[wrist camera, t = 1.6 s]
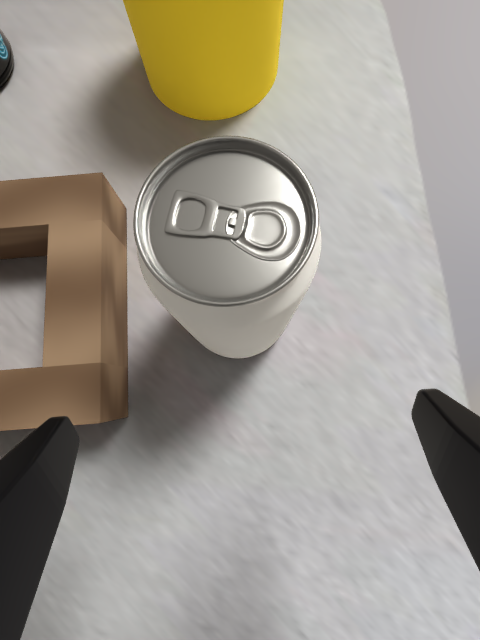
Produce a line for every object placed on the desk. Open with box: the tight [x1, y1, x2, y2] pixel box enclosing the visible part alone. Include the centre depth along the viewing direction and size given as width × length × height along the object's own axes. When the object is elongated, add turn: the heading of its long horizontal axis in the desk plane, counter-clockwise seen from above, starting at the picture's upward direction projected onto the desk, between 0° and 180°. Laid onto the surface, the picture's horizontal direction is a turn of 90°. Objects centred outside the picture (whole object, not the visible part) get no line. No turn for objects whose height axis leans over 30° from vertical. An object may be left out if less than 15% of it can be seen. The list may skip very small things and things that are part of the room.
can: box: [133, 136, 321, 358], centre depth 16 cm, size 6×6×12 cm
